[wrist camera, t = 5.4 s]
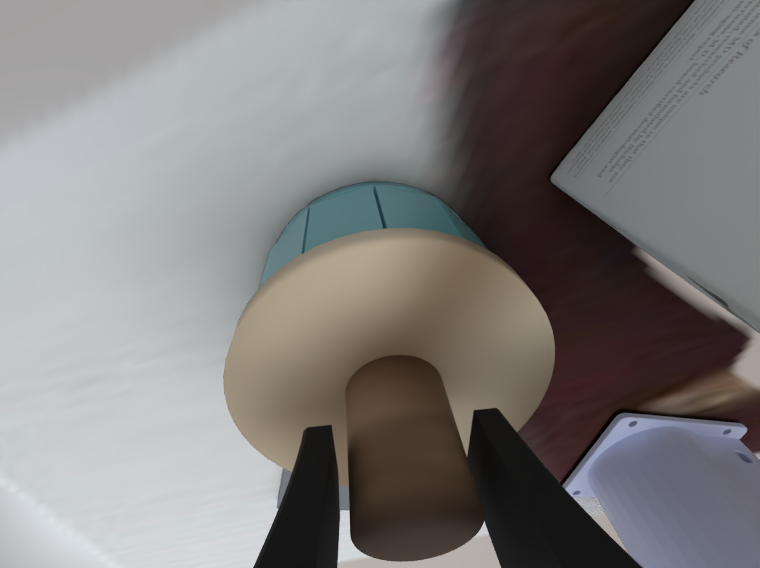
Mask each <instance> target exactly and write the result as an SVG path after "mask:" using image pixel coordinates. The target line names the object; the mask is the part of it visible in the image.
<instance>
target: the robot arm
mask: <svg viewBox="0 0 760 568" xmlns="http://www.w3.org/2000/svg"><path fill="white" fill-rule="evenodd" d="M746 432H747V428H746V427H745V426H744V425H743V424H741V423H732V422H721V421H710V420H699V419H689V418H678V417H667V416H656V415H645V414H634V413H621V414H619V415H617V416H616V417H615V418H614V419H613V421H612V422H611V423H610V425H609V426H608V427H607V429H606V430H605V431H604V432H603V434H602V435H601V436H600V438H599V439H598V440H597V441H596V443H595V444H594V445H593V447H592V448H591V449H590V450H589V452H588V453H587V454H586V456H585V457H584V458H583V460H582V461H581V462H580V463H579V465H578V466H577V467H576V469H575V470H574V471H573V472H572V474H571V475H570V476H569V478H568V479H567V480H566V481H565V483H564V484H563V485H561V484H560V483H559V482H558V481H557V480H556V478H555V477H554V476H553V475H552V474H551V473H550V472H549V470H548V469H547V468H546V467H545V466H544V465H543V464H542V462H541V461H540V460H539V459H538V458H537V456H536V455H535V454H534V453H533V452H532V450H531V449H530V448H529V447H528V446H527V444H526V443H525V442H524V441H523V439H522V438H521V437H520V436H519V434H518V433H517V432H516V431H515V429H514V428H513V427H512V426H511V424H510V423H509V422H508V420H507V419H506V418H505V416H504V415H503V414H502V412H501V411H500V410H499V409H497V408H489V409H480V410H474V412H473V419H472V426H471V433H470V440H469V447H468V454H467V459H468V462H469V466H470V469H471V472H472V475H473V478H474V481H475V484H476V488H477V491H478V494H479V497H480V500H481V503H482V506H483V509H484V514H485V517H484V521H485V524H486V526H487V529H488V532H489V535H490V537H491V540H492V543H493V546H494V549H495V551H496V554H497V557H498V560H499V563H500V565H501V568H760V460H759V459H758V458H757V457H756V456H755V455H754V454H753V453H752V452H751V451H750V450H749V449H748V448H747V447H746V446H745V445H744V444H743V443H742V442H741V441H740V440H739V439H740V438H741V437H742V436H743V435H744V434H745V433H746ZM573 497H590V498H597V499H598V501H599V503H600V505H601V506H602V508H603V510H604V512H605V513H606V515H607V517H608V519H609V520H610V522H611V524H612V525H613V527H614V529H615V531H616V532H617V534H618V536H619V538H620V539H621V541H622V543H623V545H624V546H625V548H626V550H627V552H628V553H629V554H628V553H627V552H626V551H625V550H623V549H622V548H621V547H620V546H619V545H618V544H617V543H616V542H615V541H614V540H613V539H612V538H611V537H610V536H609V535H608V534H607V533H606V532H605V531H604V530H603V529H602V528H601V527H600V526H599V525H598V524H597V523H596V522H595V521H594V520H593V519H592V517H591V516H590V515H589V514H588V513H587V512H586V511H585V510H584V509H583V508H582V507H581V506H580V505H579V504H578V503H577V502H576V501H575V500H574V498H573ZM339 523H340V503H339V473H338V466H337V459H336V452H335V445H334V438H333V431H332V425H324V426H314V427H307V428H306V429H305V430H304V431H303V436H302V440H301V444H300V448H299V452H298V455H297V459H296V462H295V465H294V468H293V471H292V474H291V477H290V480H289V483H288V486H287V488H286V491H285V493H284V496H283V499H282V501H281V504H280V507H279V509H278V512H277V514H276V517H275V519H274V522H273V524H272V527H271V529H270V531H269V533H268V536H267V538H266V540H265V543H264V545H263V547H262V549H261V552H260V554H259V556H258V558H257V561H256V563H255V565H254V567H253V568H337V560H338V542H339Z"/></svg>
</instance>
